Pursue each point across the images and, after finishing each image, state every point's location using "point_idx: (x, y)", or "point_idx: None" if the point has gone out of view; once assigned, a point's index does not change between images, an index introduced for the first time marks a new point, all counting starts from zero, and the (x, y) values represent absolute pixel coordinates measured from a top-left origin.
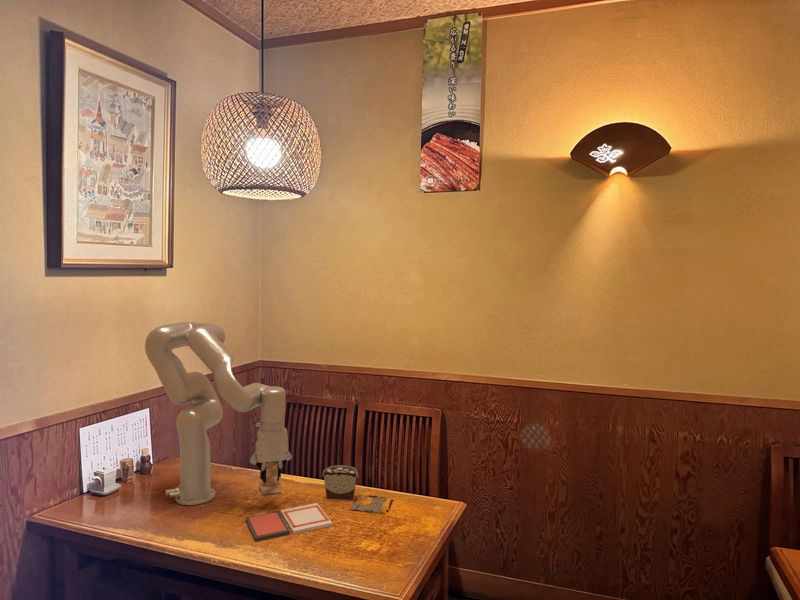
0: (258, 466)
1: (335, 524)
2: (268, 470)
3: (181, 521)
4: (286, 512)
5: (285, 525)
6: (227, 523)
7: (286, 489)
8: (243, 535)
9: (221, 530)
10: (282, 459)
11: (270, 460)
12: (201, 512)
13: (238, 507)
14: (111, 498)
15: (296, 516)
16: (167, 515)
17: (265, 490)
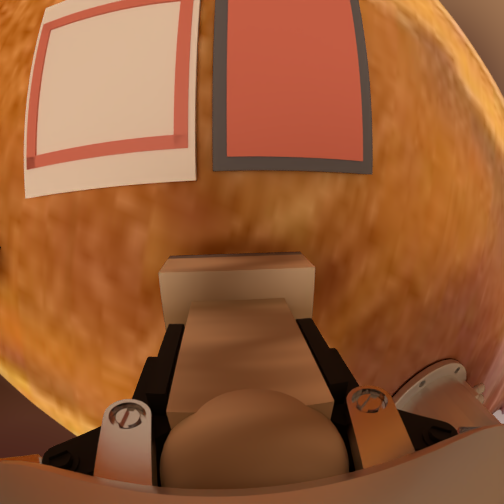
0: (421, 423)
1: (38, 23)
2: (301, 385)
3: (493, 268)
4: (175, 131)
5: (219, 17)
6: (422, 188)
7: None
8: (386, 62)
9: (442, 145)
10: (52, 479)
11: (347, 499)
12: (451, 310)
13: (356, 314)
14: (498, 401)
15: (140, 80)
16: (496, 315)
17: (292, 262)
